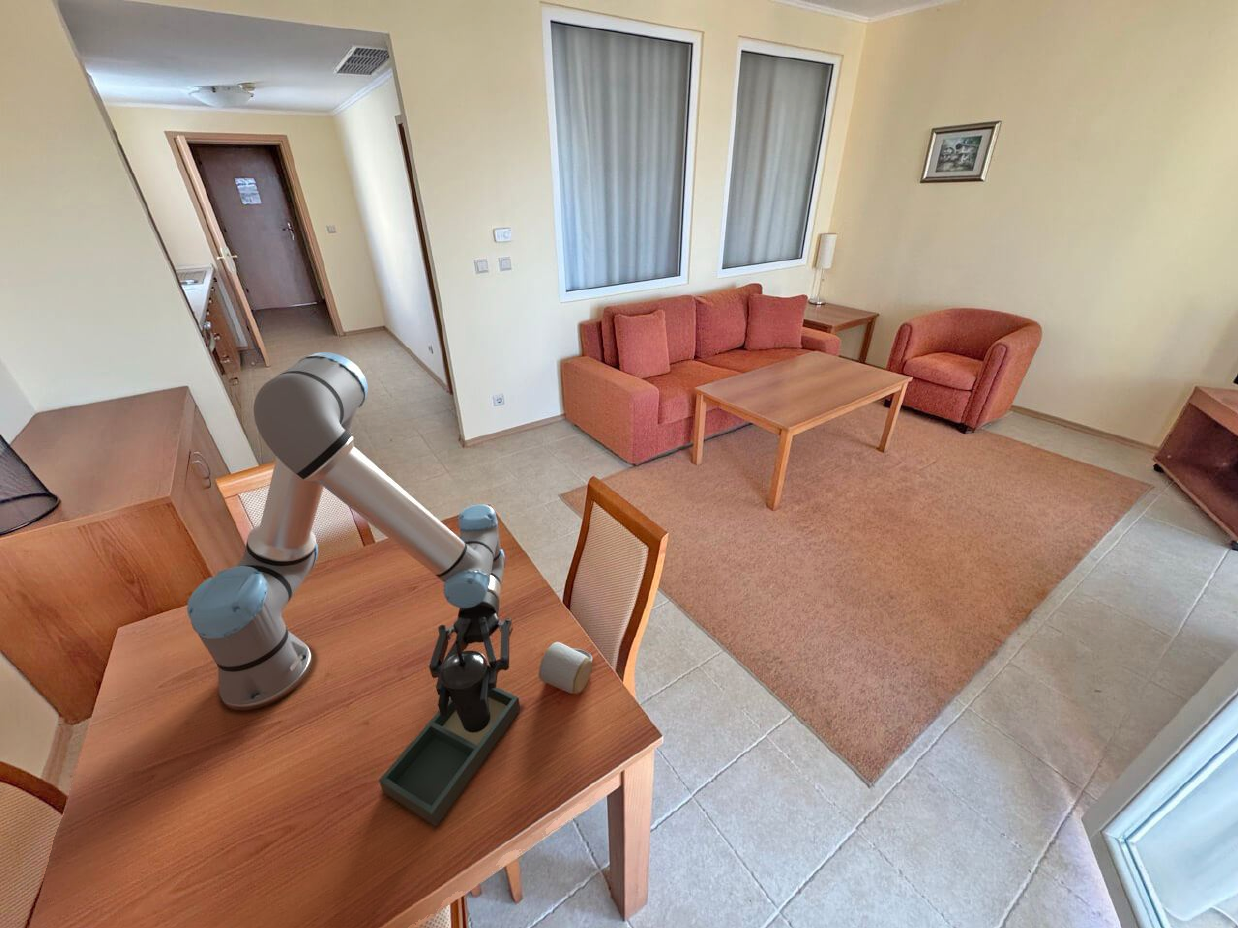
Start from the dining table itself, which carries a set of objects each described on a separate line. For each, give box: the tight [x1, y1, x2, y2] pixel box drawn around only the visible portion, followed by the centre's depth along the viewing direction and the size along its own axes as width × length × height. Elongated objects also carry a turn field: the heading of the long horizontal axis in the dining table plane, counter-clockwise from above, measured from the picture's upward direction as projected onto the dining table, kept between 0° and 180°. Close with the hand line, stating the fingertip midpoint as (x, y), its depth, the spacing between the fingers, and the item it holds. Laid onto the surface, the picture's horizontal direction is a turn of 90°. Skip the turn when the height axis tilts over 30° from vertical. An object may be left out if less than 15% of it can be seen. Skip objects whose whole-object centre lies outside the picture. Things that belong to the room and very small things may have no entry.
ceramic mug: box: [538, 641, 593, 695], centre depth 96 cm, size 11×8×8 cm
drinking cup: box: [440, 641, 490, 733], centre depth 84 cm, size 8×8×20 cm
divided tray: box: [378, 686, 521, 827], centre depth 84 cm, size 11×21×4 cm, turn 154°
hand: (462, 707), depth 79 cm, fingers open, 6 cm apart
